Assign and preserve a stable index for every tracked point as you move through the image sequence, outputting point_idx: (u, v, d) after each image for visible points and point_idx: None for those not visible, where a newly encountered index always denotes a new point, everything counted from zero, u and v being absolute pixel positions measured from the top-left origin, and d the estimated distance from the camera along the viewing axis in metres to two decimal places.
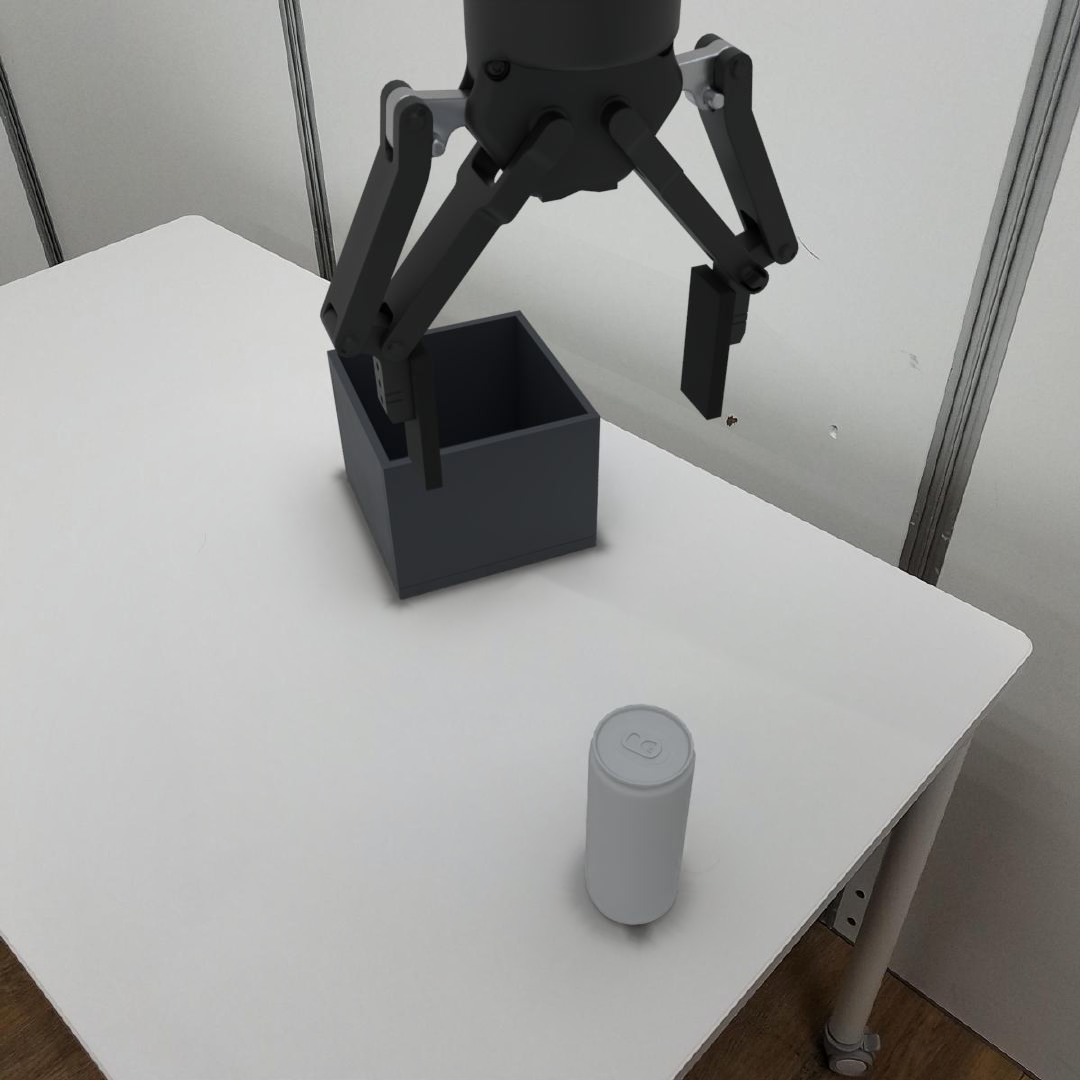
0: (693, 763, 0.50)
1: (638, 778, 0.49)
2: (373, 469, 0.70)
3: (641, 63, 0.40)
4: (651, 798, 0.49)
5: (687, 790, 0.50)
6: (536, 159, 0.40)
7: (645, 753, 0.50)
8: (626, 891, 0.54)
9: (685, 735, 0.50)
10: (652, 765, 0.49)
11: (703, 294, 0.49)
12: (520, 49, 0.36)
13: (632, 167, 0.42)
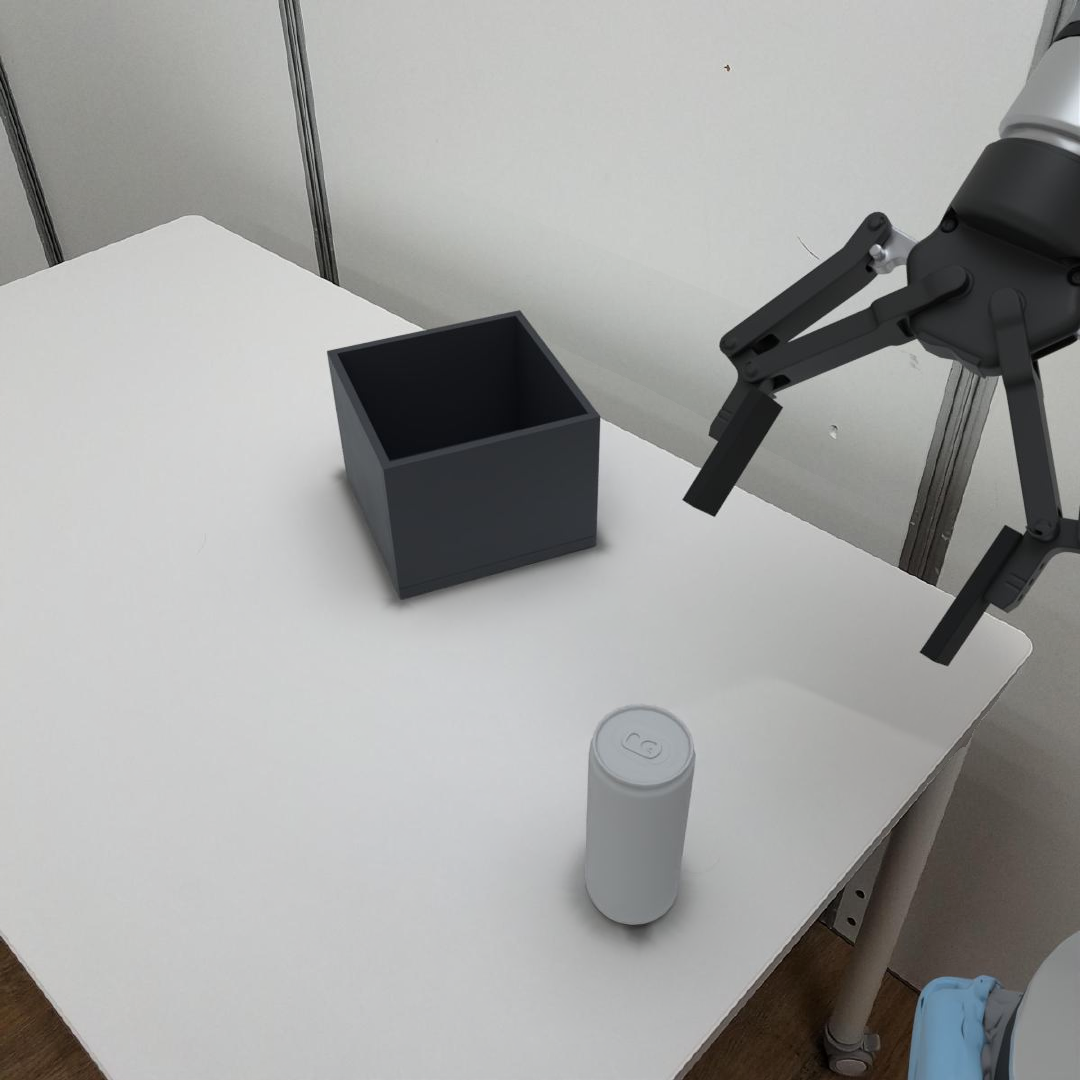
0: (693, 763, 0.50)
1: (638, 778, 0.49)
2: (373, 469, 0.70)
3: (1050, 279, 0.48)
4: (651, 798, 0.49)
5: (687, 790, 0.50)
6: (927, 286, 0.50)
7: (645, 753, 0.50)
8: (626, 891, 0.54)
9: (685, 735, 0.50)
10: (652, 765, 0.49)
11: None
12: (960, 194, 0.49)
13: (998, 356, 0.49)
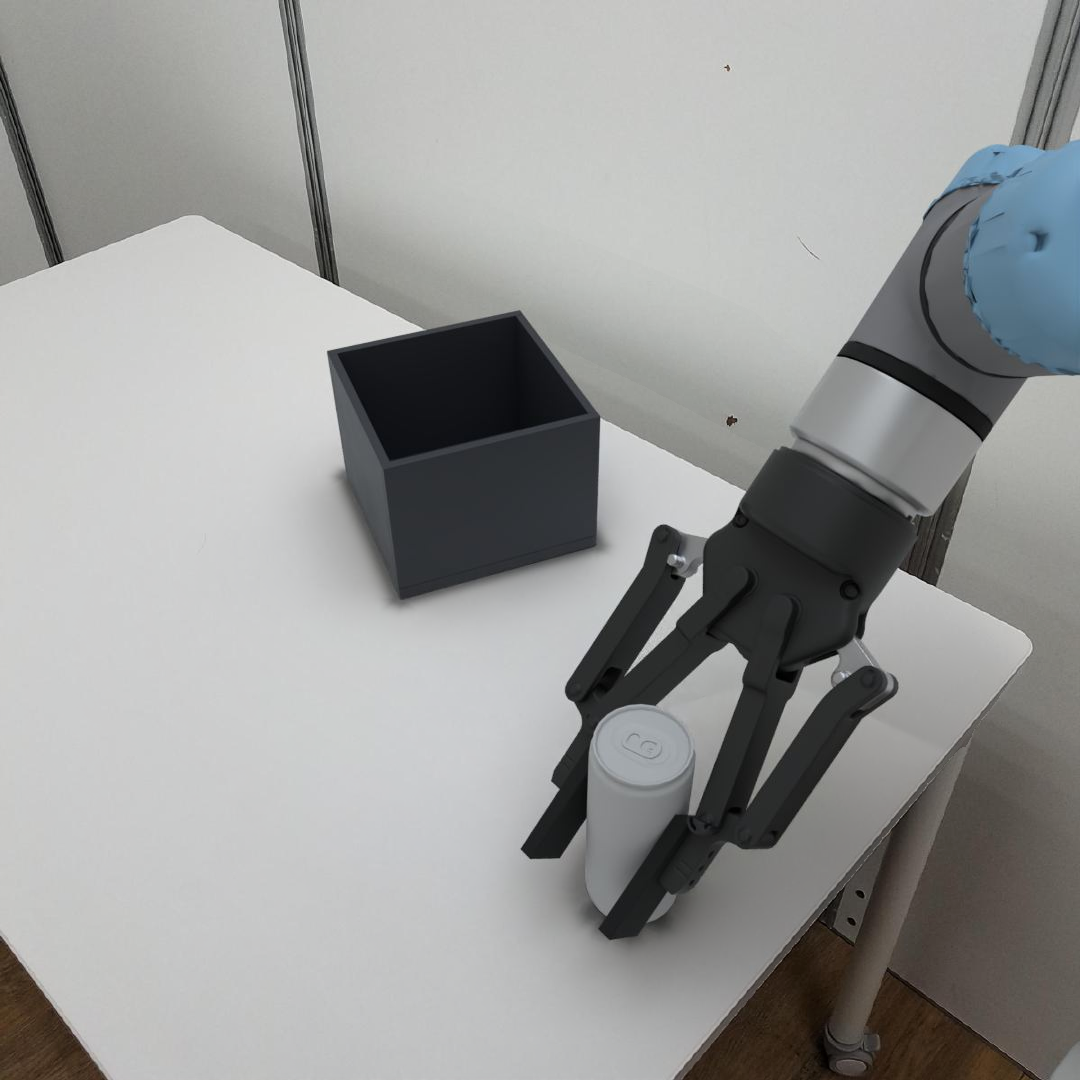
0: (693, 763, 0.50)
1: (638, 778, 0.49)
2: (373, 469, 0.70)
3: (825, 589, 0.49)
4: (651, 798, 0.49)
5: (687, 790, 0.50)
6: (714, 583, 0.51)
7: (646, 753, 0.50)
8: None
9: (685, 735, 0.50)
10: (652, 765, 0.49)
11: None
12: (745, 497, 0.51)
13: None
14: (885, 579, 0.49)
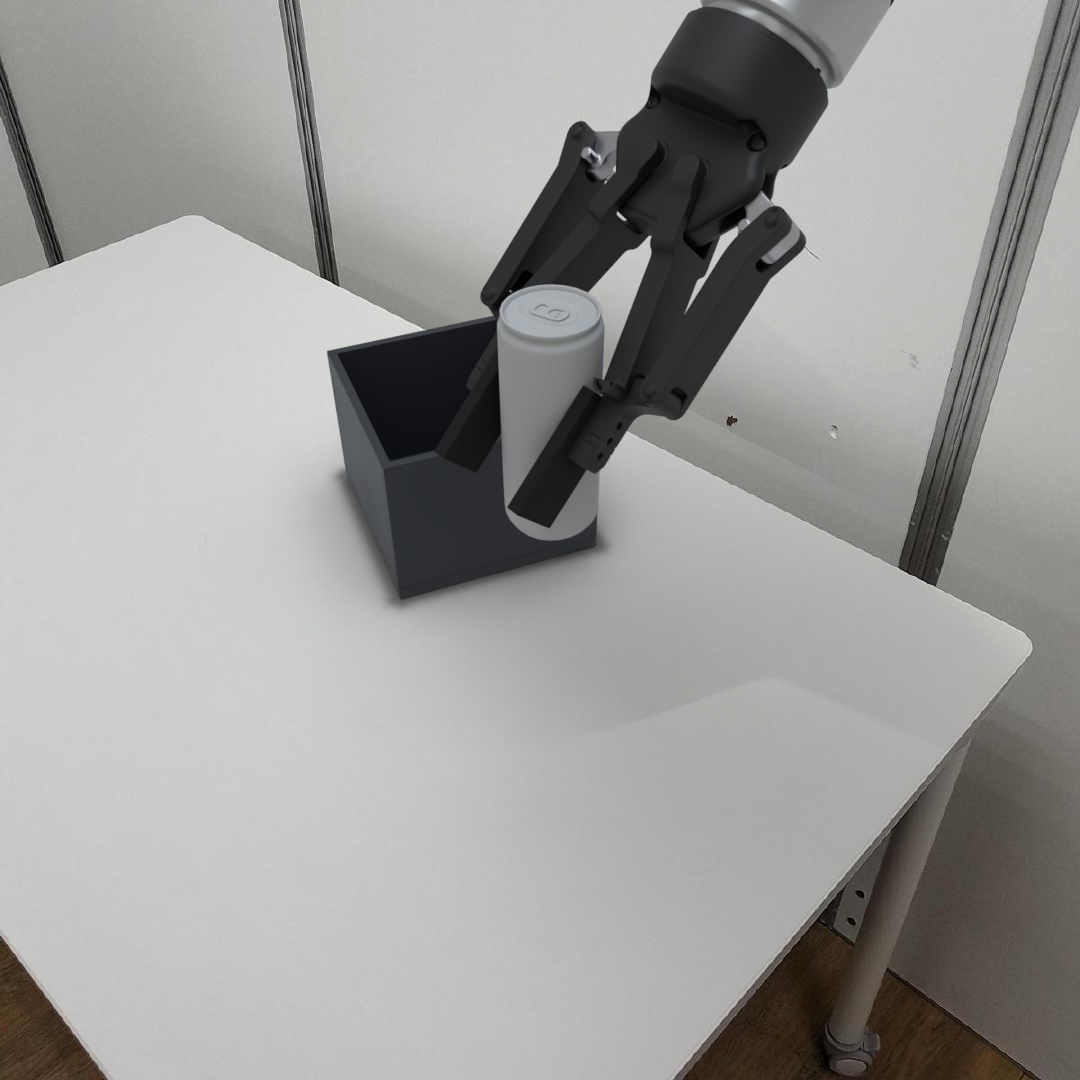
0: (601, 329, 0.49)
1: (543, 334, 0.48)
2: (373, 469, 0.70)
3: (733, 146, 0.48)
4: (556, 354, 0.48)
5: (595, 358, 0.50)
6: (624, 159, 0.51)
7: (552, 317, 0.49)
8: None
9: (594, 306, 0.50)
10: (558, 325, 0.49)
11: None
12: (655, 67, 0.50)
13: None
14: (793, 135, 0.48)
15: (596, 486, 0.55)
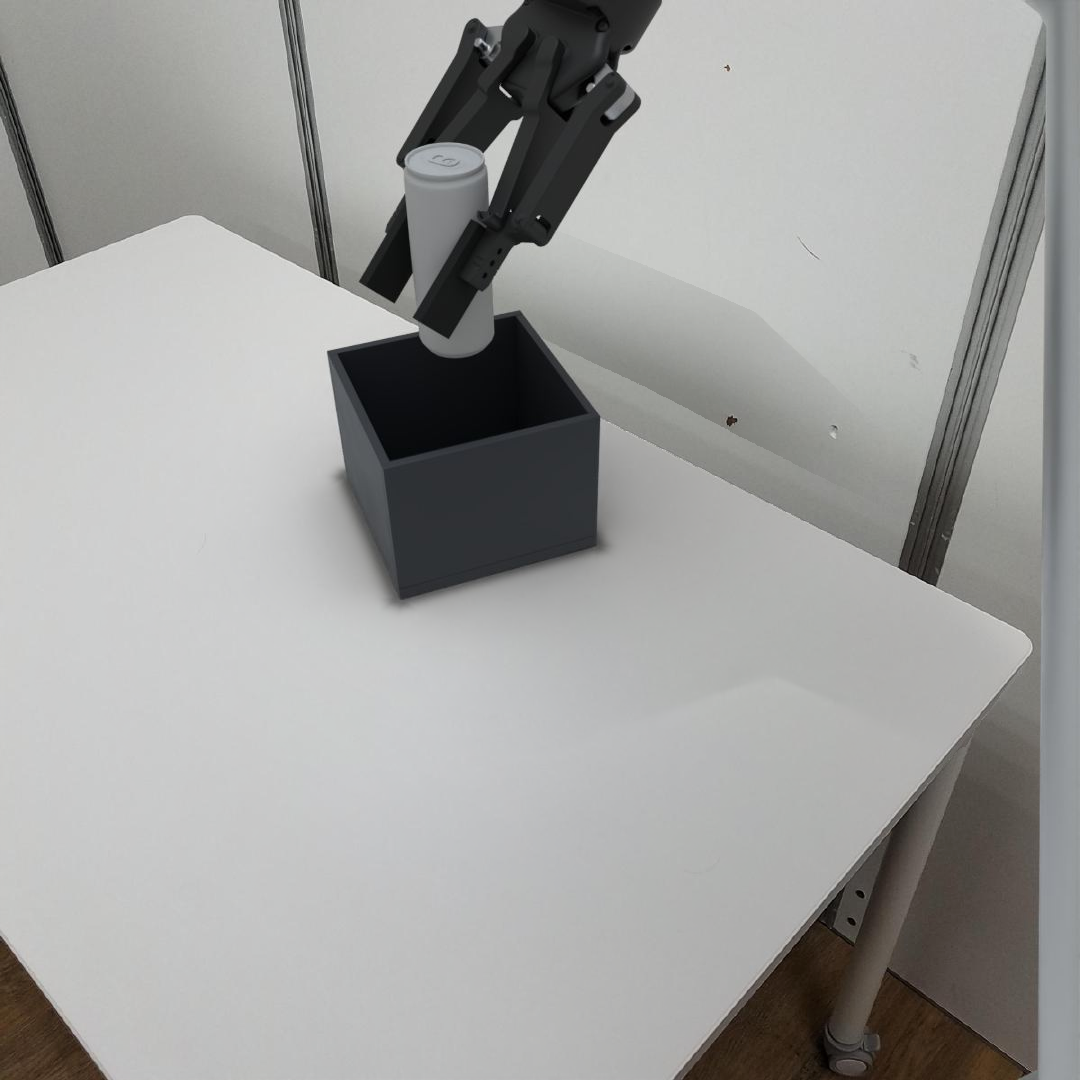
0: (484, 173, 0.63)
1: (437, 174, 0.62)
2: (373, 469, 0.70)
3: (585, 29, 0.62)
4: (447, 190, 0.62)
5: (480, 197, 0.63)
6: (504, 43, 0.64)
7: (446, 163, 0.63)
8: None
9: (479, 157, 0.64)
10: (449, 169, 0.62)
11: None
12: None
13: None
14: (631, 20, 0.62)
15: (490, 312, 0.69)
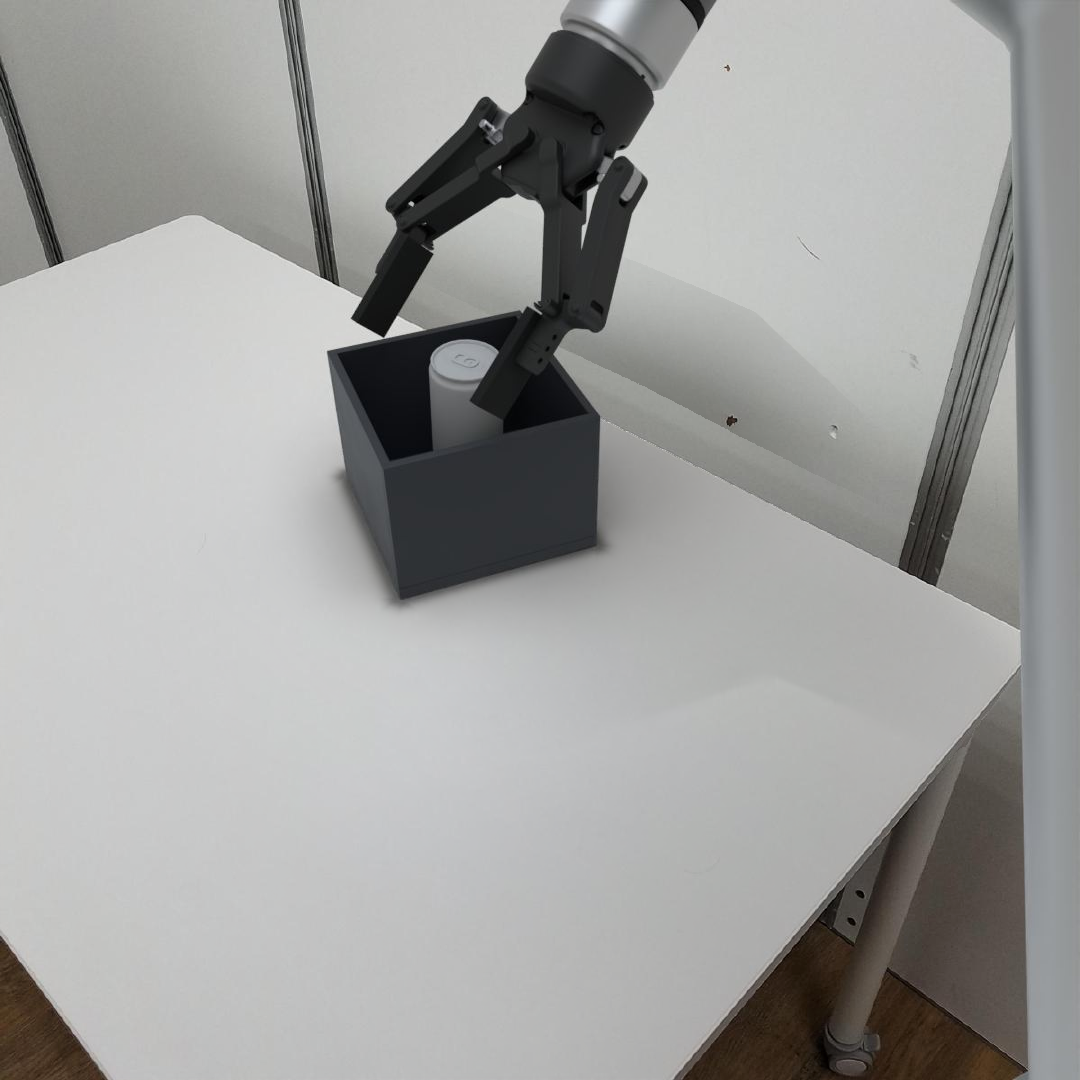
0: None
1: (459, 377, 0.70)
2: (373, 469, 0.70)
3: (581, 131, 0.66)
4: (468, 391, 0.70)
5: None
6: (506, 141, 0.68)
7: (467, 364, 0.71)
8: None
9: None
10: (470, 371, 0.71)
11: None
12: None
13: None
14: (625, 123, 0.66)
15: None
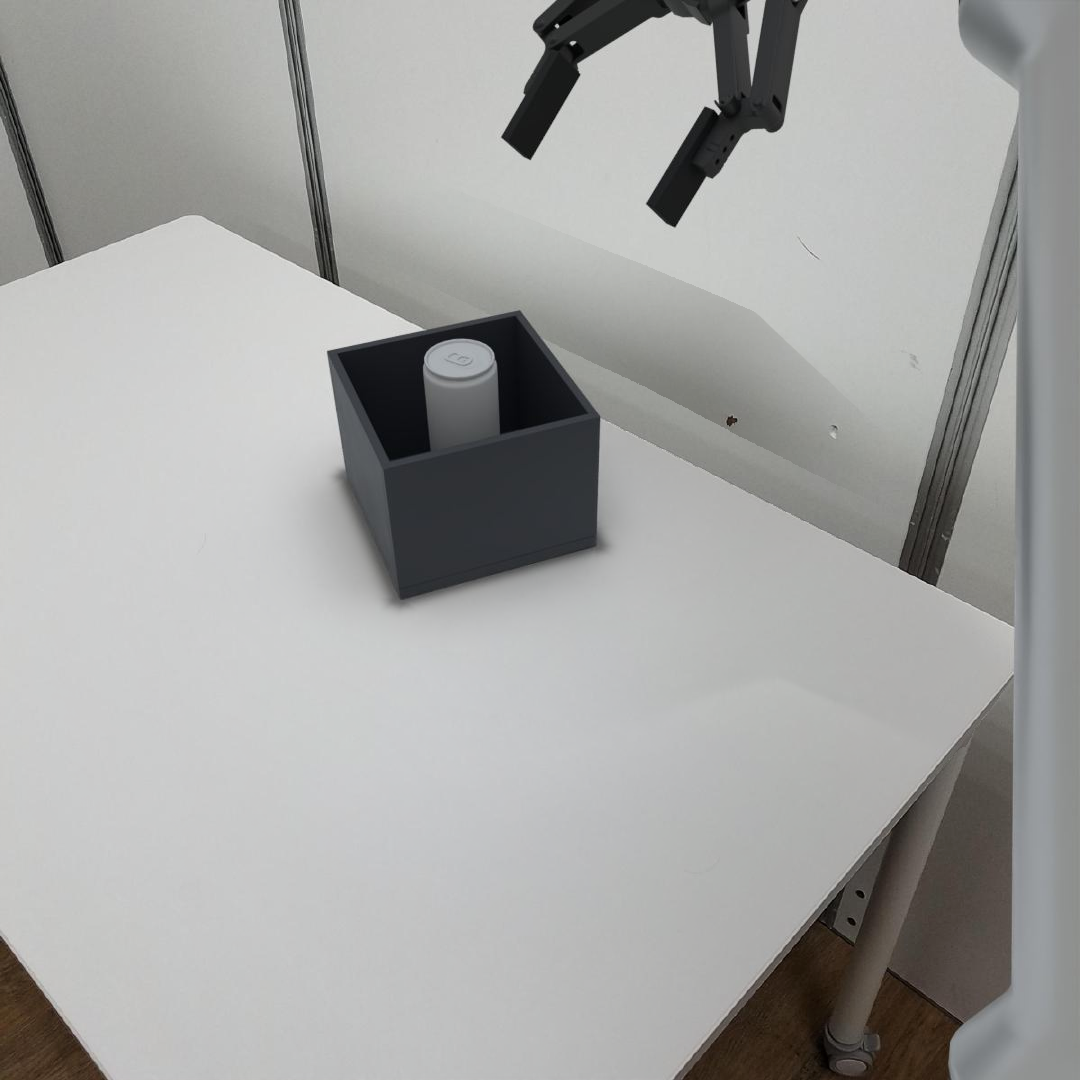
0: (494, 370, 0.72)
1: (453, 375, 0.71)
2: (373, 469, 0.70)
3: None
4: (462, 388, 0.71)
5: (490, 390, 0.72)
6: None
7: (460, 362, 0.72)
8: None
9: (490, 354, 0.72)
10: (464, 368, 0.71)
11: None
12: None
13: None
14: None
15: None
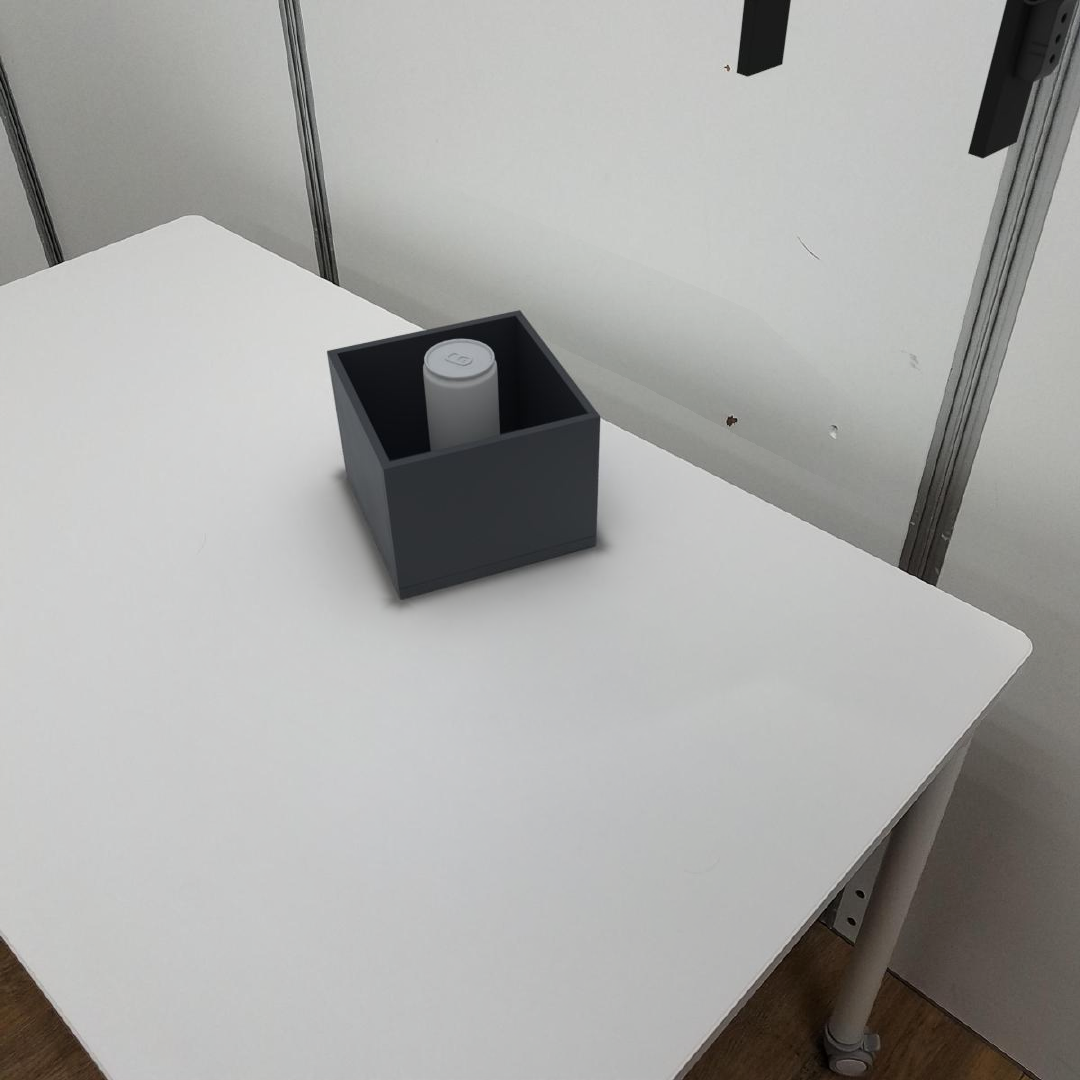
0: (494, 370, 0.72)
1: (453, 375, 0.71)
2: (373, 469, 0.70)
3: None
4: (462, 388, 0.71)
5: (490, 390, 0.72)
6: None
7: (460, 362, 0.72)
8: None
9: (490, 354, 0.72)
10: (464, 368, 0.71)
11: None
12: None
13: None
14: None
15: None
